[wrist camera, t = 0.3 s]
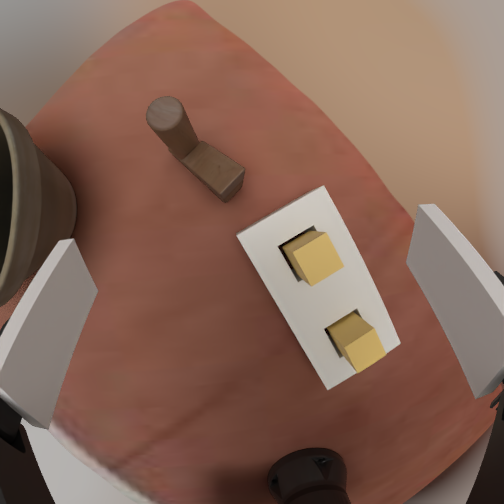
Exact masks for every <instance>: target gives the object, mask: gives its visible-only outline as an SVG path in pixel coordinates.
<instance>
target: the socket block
mask: <svg viewBox="0 0 504 504" xmlns="http://www.w3.org/2000/svg"><path fill="white" fill-rule="evenodd" d="M303 231H304V232H305V233H306V232H308V231H318V232H327V234H328V236H329V238H330V240H331V242H332V244H333V245H334V247H335V249H336V251H337V253H338V255H339V257H340V259H341V261H342V263H343V265H344V267H343V268H341V269H340V270H338V271H336V272H335V273H333V274H332V275H330V276H328V277H327V278H325V279H323V280H322V281H320V282H318V283H317V284H315V285H313V286H312V287H311V286H310V285H309V284H308V283H306V282H305V281H304V280H303V279H302V278H300V277H299V276H298V275H297V273H296V271H295V270H294V269H292V270H291V269H290V267H289V266H288V264H287V262H286V260H285V259H284V257H283V255H282V253H281V252H280V250H279V248H278V246H279V245H281V244H282V243H284V242H286V241H287V240H289V239H291V238H293V237H294V236H296V235H298V234H299V233H301V232H303ZM236 236H237V237H238V239H239V241H240V242H241V244H242V246H243V248H244V249H245V251H246V253H247V254H248V256H249V258H250V260H251V261H252V263H253V265H254V266H255V268H256V270H257V271H258V273H259V275H260V277H261V278H262V280H263V282H264V283H265V285H266V287H267V289H268V290H269V292H270V294H271V295H272V297H273V299H274V300H275V302H276V304H277V306H278V307H279V309H280V311H281V312H282V314H283V316H284V317H285V319H286V321H287V322H288V324H289V326H290V328H291V329H292V331H293V333H294V334H295V336H296V338H297V339H298V341H299V343H300V345H301V346H302V348H303V350H304V351H305V353H306V355H307V356H308V358H309V360H310V361H311V363H312V365H313V366H314V368H315V370H316V372H317V373H318V375H319V377H320V378H321V380H322V382H323V383H324V385H325V387H326V388H327V390H329V389H331V388H332V387H334V386H336V385H338V384H339V383H341V382H343V381H344V380H346V379H348V378H349V377H351V376H352V375H354V374H356V373H357V372H356V371H355V370H354V368H353V367H352V366H351V365H350V363H349V362H348V361H347V360H346V359H345V357H344V356H343V355H342V354H341V352H340V351H339V350H338V348H337V346H336V344H335V342H334V341H333V339H332V337H331V335H329V336H327V334H326V332H325V330H324V329H325V328H326V327H328V326H330V325H331V324H333V323H335V322H336V321H338V320H339V319H341V318H343V317H344V316H346V315H347V314H349V313H350V312H352V311H353V312H354V313H355V314H357V315H358V316H359V317H361V318H362V319H363V320H365V321H366V322H367V323H368V324H370V325H371V326H372V327H374V328H375V330H376V332H377V335H378V337H379V339H380V341H381V343H382V346H383V348H384V350H385V352H386V353H388V352H389V351H391V350H392V349H393V348H395V347H396V346H398V345H399V344H401V343H400V341H399V338H398V336H397V333H396V331H395V329H394V326H393V324H392V322H391V319H390V317H389V315H388V312H387V310H386V308H385V306H384V304H383V301H382V299H381V297H380V295H379V293H378V290H377V288H376V286H375V284H374V282H373V280H372V278H371V275H370V273H369V271H368V269H367V267H366V265H365V263H364V261H363V259H362V257H361V255H360V253H359V251H358V249H357V247H356V245H355V243H354V241H353V239H352V237H351V235H350V233H349V231H348V229H347V227H346V225H345V224H344V222H343V220H342V218H341V216H340V214H339V212H338V210H337V209H336V207H335V205H334V203H333V201H332V199H331V198H330V196H329V194H328V192H327V190H326V189H325V187H324V185H323V186H321V187H319V188H316V189H314V190H312V191H309V192H307V193H306V194H304V195H302V196H300V197H299V198H297V199H295V200H293V201H292V202H290V203H288V204H286V205H285V206H283V207H281V208H279V209H278V210H276V211H274V212H272V213H271V214H269V215H267V216H265V217H264V218H262V219H260V220H258V221H257V222H255V223H253V224H252V225H250V226H248V227H246V228H245V229H243V230H241V231H240V232H238V233H236Z"/></svg>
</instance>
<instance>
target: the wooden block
mask: <svg viewBox="0 0 504 504" xmlns="http://www.w3.org/2000/svg"><path fill="white" fill-rule="evenodd" d="M146 120H147V123H148V125H149V126H150V127H151V128H152V130H153V131H154V132H155V133H156V134H157V135H158V136H159V137H160V139H161V140H162V141H163V142H164V143H165V144H166V145H167V146H168V148H169V151H170V152H171V153H172V154H173V155H174V156H175V157H176V158H177V159H178V160H179V161H180V162H181V163H182V164H183V165H184V166H185V167H187V168H188V169H189V170H190V171H191V172H192V173H193V174H194V175H195V176H196V177H197V178H198V179H199V180H200V181H202V182H203V183H204V184H205V185H206V186H207V187H208V188H209V189H210V190H211V191H212V192H213V193H214V194H215V195H217V196H218V197H219V198H220V199H221V200H222V201H223V202H224V203H226V202H228V201H229V200H230V199H231V198H232V197H233V196H234V194H235V193H236V192H237V191H238V190H239V189H240V188H241V187H242V183H243V179H244V173H245V168H244V167H242V166H241V165H239V164H238V163H236V162H235V161H233V160H232V159H230V158H229V157H227V156H226V155H224V154H223V153H221V152H219V151H218V150H216V149H215V148H213V147H212V146H210V145H209V144H207V143H205V142H204V141H201V142H199V141H198V139H197V136H196V134H195V132H194V130H193V127H192V125H191V123H190V121H189V118H188V116H187V114H186V112H185V110H184V107H183V105H182V103H181V102H180V101H179V100H178V99H176V98H174V97H170V96H164V97H160V98H158V99H156V100H155V101H153V102H152V103H151V104H150V106H149V107H148V110H147V112H146Z"/></svg>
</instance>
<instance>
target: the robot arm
mask: <svg viewBox="0 0 504 504" xmlns="http://www.w3.org/2000/svg"><path fill="white" fill-rule="evenodd" d="M406 264H407V265H408V267H409V269H410V270H411V272H412V274H413V275H414V277H415V279H416V281H417V282H418V284H419V286H420V287H421V289H422V291H423V293H424V295H425V296H426V298H427V300H428V302H429V304H430V305H431V307H432V309H433V311H434V313H435V315H436V316H437V318H438V320H439V322H440V324H441V326H442V328H443V330H444V332H445V334H446V336H447V338H448V340H449V342H450V344H451V346H452V348H453V350H454V352H455V354H456V356H457V358H458V361H459V363H460V365H461V367H462V369H463V371H464V374H465V376H466V378H467V380H468V383H469V385H470V387H471V390H472V392H473V395H474V397H475V399H477V398H479V397H482V396H484V395H487V394H489V393H492V392H493V391H494V390H495V389H496V388H497V387H498V385H499V384H500V383H501V382H503V384H504V277H503V276H502V275H500V273H498V272H497V271H495V272H493V271H492V270H491V268H490V267H489V266H488V265H487V263H486V262H485V261H484V260H483V258H482V257H481V256H480V255H479V253H478V252H477V251H476V250H475V249H474V247H473V246H472V245H471V244H470V243H469V241H468V240H467V239H466V238H465V237H464V236H463V234H462V233H461V232H460V231H459V230H458V229H457V228H456V226H455V225H454V224H453V223H452V222H451V221H450V220H449V219H448V218H447V217H446V215H444V213H443V212H442V211H441V210H440V209H439V208H438V207H437V206H436V205H435V204H421V205H418V209H417V214H416V219H415V225H414V229H413V234H412V239H411V243H410V248H409V252H408V256H407V261H406ZM97 293H98V290H97V288H96V286H95V284H94V282H93V280H92V277H91V275H90V273H89V271H88V269H87V267H86V265H85V263H84V260H83V258H82V256H81V254H80V252H79V249H78V247H77V245H76V242H75V240H74V239H67V240H60V241H59V242H58V243H57V244H56V246H55V247H54V249H53V250H52V252H51V253H50V255H49V256H48V257H47V259H46V260H45V262H44V263H43V265H42V266H41V268H40V270H39V271H38V273H37V274H36V276H35V277H34V279H33V280H32V282H31V284H30V285H29V287H28V289H27V290H26V292H25V293H24V295H23V297H22V299H21V300H20V302H19V304H18V305H17V307H16V309H15V311H14V312H13V314H12V316H11V317H10V318H9V319H8V320H7V321H6V323H5V324H4V325H3V326H2V328H1V330H0V504H55V502H54V500H53V498H52V496H51V494H50V492H49V489H48V487H47V485H46V483H45V480H44V478H43V476H42V473H41V471H40V468H39V466H38V463H37V461H36V458H35V455H34V453H33V450H32V447H31V445H30V442H29V439H28V436H27V433H26V430H25V428H24V426H23V425H22V424H20V422H21V419H22V418H24V419H25V420H26V421H27V422H28V423H30V424H31V425H32V426H35V427H39V428H44V429H48V430H49V426H50V423H51V419H52V416H53V412H54V409H55V406H56V402H57V399H58V396H59V393H60V390H61V387H62V383H63V380H64V377H65V375H66V372H67V369H68V366H69V363H70V360H71V357H72V355H73V352H74V349H75V347H76V344H77V341H78V339H79V336H80V334H81V331H82V328H83V326H84V323H85V321H86V319H87V316H88V314H89V311H90V309H91V306H92V304H93V302H94V299H95V297H96V295H97ZM498 402H499V405H498V407H497V408H496V410H497V414H496V418H495V422H494V425H493V429H492V433H491V436H490V439H489V443H488V446H487V449H486V452H485V455H484V459H483V461H482V464H481V467H480V470H479V473H478V475H477V478H476V481H475V483H474V486H473V488H472V490H471V493H470V495H469V498H468V500H467V502H466V504H504V390H503V391H502V392H501V393H500V394H499V395H498V396H497V397H496V398H495V399H494V400H493V401H492V403H491V405H490V408H493V407H494V406H495V405H496V404H497V403H498ZM346 477H347V470H346V466H345V464H344V462H343V460H342V458H341V457H340V455H338V454H337V453H336V452H334V451H331V450H328V449H323V448H310V449H304V450H300V451H297V452H294V453H291V454H289V455H287V456H285V457H283V458H282V459H280V460H279V461H278V462H277V463H275V464H274V466H273V467H272V468H271V470H270V471H269V474H268V486H269V490H270V493H271V494H272V496H273V497H274V499H275V500H276V501H277V503H278V504H351V502H350V500H349V498H348V495H347V493H346Z"/></svg>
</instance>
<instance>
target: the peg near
mask: <svg viewBox="0 0 504 504" xmlns="http://www.w3.org/2000/svg"><path fill="white" fill-rule="evenodd" d="M282 248H283V250H284V252H285V254H286V256H287V257H288V259H289V261H290V263H291V264H292V266H293V268H294V270H295V271H296V273H297V275H298V276H299V277H300V278H302V279H303V280H304V281H305V282H306V283H308V284H309V285H310V286H311V287H312V286H313V285H315V284H317V283H318V282H320V281H322V280H323V279H325V278H327V277H328V276H330V275H332V274H333V273H335V272H336V271H338V270H340V269H341V268H343V267H344V265H343V263H342V261H341V259H340V257H339V255H338V253H337V251H336V249H335V247H334V245H333V244H332V242H331V240H330V238H329V236H328V234H327V232H318V231H308V232H306V233H305V234H303V235H301V236H300V237H298V238H296V239H294V240H293V241H291V242H289V243H288V244H286V245H284V246H283V247H282Z"/></svg>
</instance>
